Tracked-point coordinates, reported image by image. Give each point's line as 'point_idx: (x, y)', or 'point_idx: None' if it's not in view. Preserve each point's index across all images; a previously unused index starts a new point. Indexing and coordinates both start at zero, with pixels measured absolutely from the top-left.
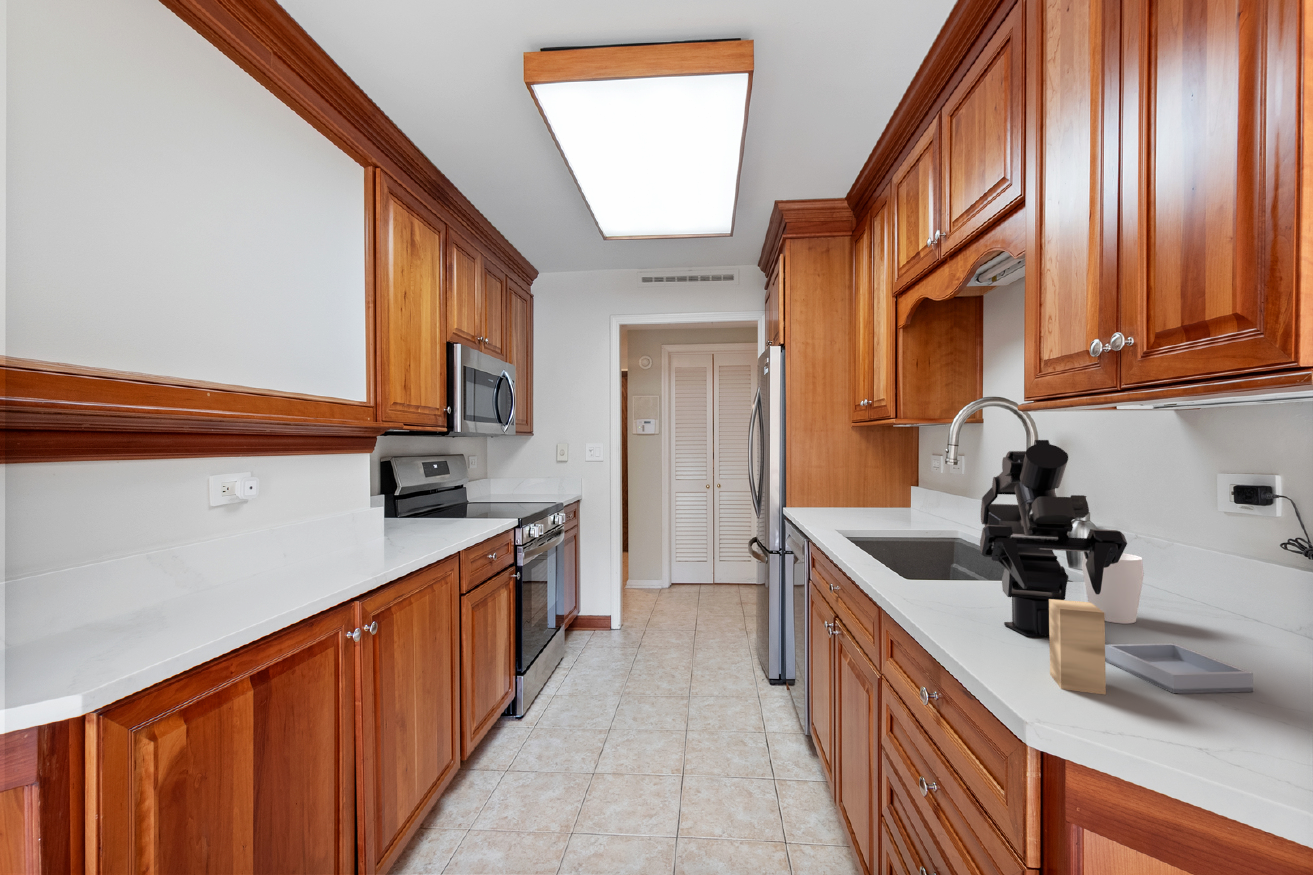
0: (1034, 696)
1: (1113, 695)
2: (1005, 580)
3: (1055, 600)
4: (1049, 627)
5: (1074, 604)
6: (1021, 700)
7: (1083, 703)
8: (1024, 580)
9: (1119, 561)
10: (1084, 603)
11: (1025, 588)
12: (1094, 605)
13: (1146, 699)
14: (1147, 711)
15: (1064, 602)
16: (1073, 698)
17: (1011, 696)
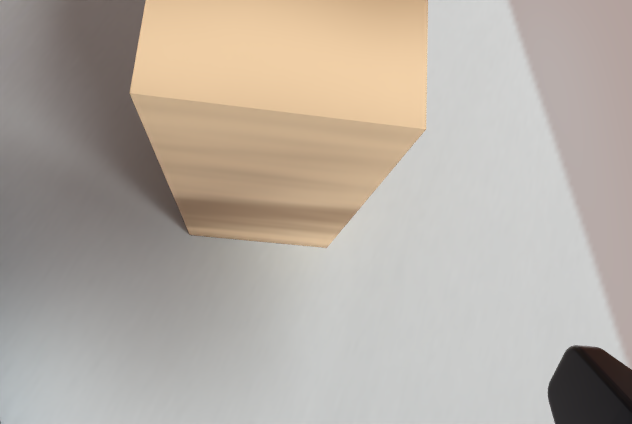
0: (433, 50)
1: None
2: None
3: (389, 96)
4: (369, 196)
5: (289, 11)
6: (475, 17)
7: None
8: (621, 377)
9: None
10: (199, 49)
11: (558, 377)
12: (148, 5)
13: (87, 97)
14: (140, 11)
15: (342, 53)
16: None
17: (496, 38)
